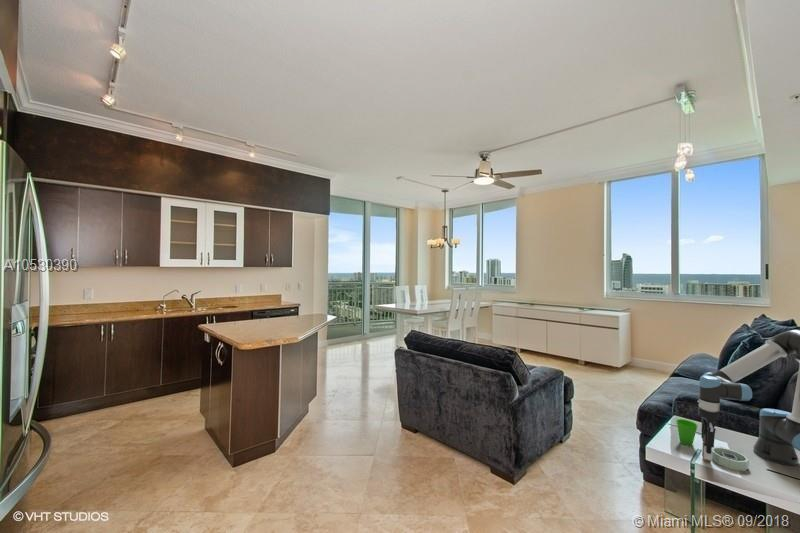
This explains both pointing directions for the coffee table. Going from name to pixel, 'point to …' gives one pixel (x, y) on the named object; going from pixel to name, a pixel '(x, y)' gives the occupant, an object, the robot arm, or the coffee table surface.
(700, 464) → the coffee table surface
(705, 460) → the block
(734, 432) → the coffee table surface
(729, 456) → the pale green round dish
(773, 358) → the robot arm
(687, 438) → the cup
